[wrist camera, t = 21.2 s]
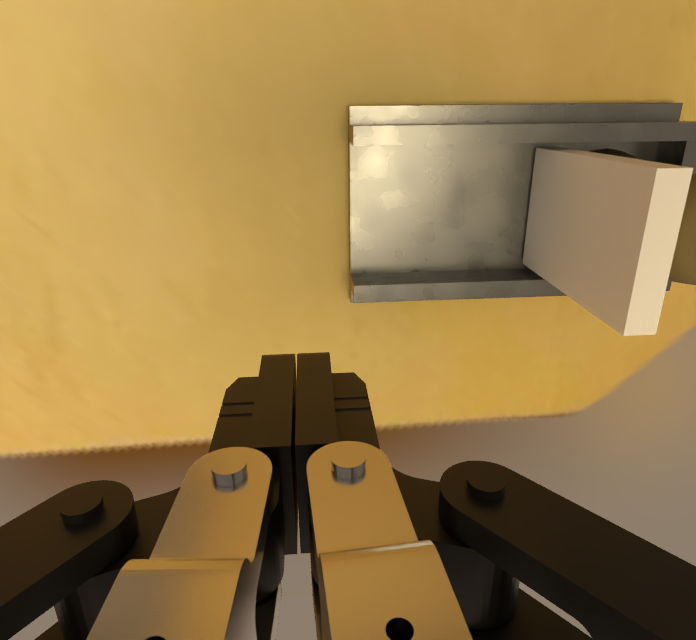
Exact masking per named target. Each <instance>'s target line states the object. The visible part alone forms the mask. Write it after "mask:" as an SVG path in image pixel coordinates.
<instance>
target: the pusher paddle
mask: <svg viewBox="0 0 696 640" xmlns="http://www.w3.org/2000/svg"><path fill="white" fill-rule="evenodd" d="M692 172H693V168H691V167H685V166H678V165H672V164H666V163H659V162H653V161H646V160H640V159H633V158H627V157H621V156H614V155H608V154H601V153H595V152H589V151H582V150H576V149H569V148H563V147H536V152H535V161H534V169H533V178H532V186H531V195H530V203H529V212H528V220H527V229H526V237H525V246H524V254H523V263H522V264H524V265H525V266H527V267H528V268H529V269H531V270H532V271H534V272H535V273H536V274H538V275H539V276H541V277H542V278H543V279H545V280H546V281H548V282H549V283H550V284H552V285H553V286H555V287H556V288H557V289H559V290H560V291H562V292H563V293H564V294H566V295H567V296H569V297H570V298H571V299H573V300H574V301H576V302H577V303H578V304H580V305H581V306H582V307H584V308H585V309H587V310H588V311H589V312H591V313H592V314H594V315H595V316H596V317H598V318H599V319H601V320H602V321H603V322H605V323H606V324H608V325H609V326H610V327H612V328H613V329H615V330H616V331H617V332H619V333H620V334H622V335H623V336H631V335H656V331H657V326H658V322H659V318H660V313H661V309H662V304H663V300H664V296H665V291H666V287H667V282H668V278H669V274H670V269H671V265H672V260H673V256H674V251H675V247H676V243H677V238H678V234H679V229H680V225H681V221H682V216H683V212H684V207H685V203H686V199H687V194H688V190H689V185H690V181H691V177H692Z"/></svg>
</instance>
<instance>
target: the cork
mask: <svg viewBox="0 0 696 640" xmlns="http://www.w3.org/2000/svg"><path fill="white" fill-rule="evenodd" d="M591 152H595V153H601V154H608V155H614V156H621V157H627V158H633V159H640V158H638V157H635V156H633V155H631V154H628V153H626V152H623V151H620V150H615V149H610V148H606V149H599V150H593V151H591ZM640 160H643V159H640ZM668 279H669V280H671V281H673V282H679V283H685V284H692V285H696V174H693V175H692V177H691V181H690V185H689V190H688V194H687V199H686V203H685V207H684V212H683V216H682V221H681V225H680V229H679V234H678V238H677V243H676V247H675V251H674V256H673V260H672V265H671V269H670V274H669V278H668Z"/></svg>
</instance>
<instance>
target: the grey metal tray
mask: <svg viewBox="0 0 696 640" xmlns="http://www.w3.org/2000/svg"><path fill="white" fill-rule="evenodd" d="M682 104H683V103H630V104H523V105H415V106H348V139H349V265H350V301H351V303H364V302H393V301H422V300H451V299H480V298H509V297H538V296H567V295H566V294H564V293H563V292H562V291H560V290H559V289H557V288H556V287H555V286H553V285H552V284H550V283H549V282H548V281H546V280H545V279H543V278H542V277H541V276H539V275H538V274H536V273H535V272H534V271H532V270H531V269H529V268H528V267H527V266H525V265H524V264H522V263H523V254H524V246H525V237H526V229H527V220H528V212H529V203H530V195H531V186H532V178H533V169H534V161H535V152H536V147H563V148H569V149H576V150H582V151H589V152H591V151H593V150H599V149H606V148H610V149H615V150H620V151H623V152H626V153H628V154H631V155H633V156H635V157H638V158H640V159H643V160H646V161H653V162H659V163H666V164H672V165H678V166H685V167H691V168H693V172H692V175H693V174H696V121H679V119H680V114H681V109H682ZM670 286H671V280H669V279H668V282H667V287H666V291H669V290H670Z"/></svg>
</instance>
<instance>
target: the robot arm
mask: <svg viewBox="0 0 696 640" xmlns="http://www.w3.org/2000/svg"><path fill="white" fill-rule="evenodd" d="M298 510H299V528H300V546H301V553H311V575H312V595H313V605H314V614H315V624H316V632H317V640H696V566H694V565H692V564H690V563H688V562H686V561H684V560H682V559H680V558H678V557H676V556H675V555H673V554H670V553H669V552H667V551H665V550H663V549H661V548H659V547H657V546H655V545H654V544H652V543H650V542H648V541H646V540H644V539H642V538H640V537H638V536H636V535H634V534H633V533H631V532H629V531H627V530H625V529H623V528H621V527H619V526H617V525H615V524H613V523H612V522H610V521H608V520H606V519H604V518H602V517H600V516H598V515H596V514H594V513H592V512H590V511H589V510H587V509H585V508H583V507H581V506H579V505H577V504H575V503H573V502H571V501H570V500H568V499H565V498H564V497H562V496H560V495H558V494H556V493H554V492H552V491H551V490H548V489H547V488H545V487H543V486H541V485H539V484H537V483H535V482H533V481H531V480H530V479H527V478H526V477H524V476H522V475H520V474H518V473H516V472H514V471H512V470H510V469H508V468H506V467H504V466H501V465H498V464H495V463H491V462H486V461H466V462H461V463H458V464H455V465H453V466H451V467H450V468H448V469H447V470H446V471H445V472H444V473H443V475H442V477H441V479H440V482H436V481H430V480H424V479H419V478H414V477H411V476H407V475H405V474H403V473H401V472H399V471H397V470H395V469H393V468H392V467H391V464H390V462H389V460H388V458H387V456H386V455H385V454H384V453H383V452H382V451H381V450H380V447H379V443H378V439H377V434H376V429H375V425H374V420H373V416H372V411H371V407H370V402H369V399H368V393H367V389H366V384H365V383H364V382H363V381H362V380H361V379H360V378H359V377H358V376H357V375H356V374H355V373H354V372H353V373H331V364H330V354H329V352H325V353H300V354H297V380H296V362H295V354H278V355H262V360H261V366H260V371H259V377H241V378H238V379H237V380H236V381H235V382H234V383H233V384H232V385H231V386H229V387H228V388H227V389H226V392H225V395H224V399H223V403H222V406H221V410H220V413H219V418H218V421H217V424H216V428H215V431H214V435H213V439H212V442H211V446H210V450H209V453H208V454H206V455H204V456H203V457H201V458H199V459H198V460H197V461H196V462H195V463H193V465H192V466H191V467H190V469H189V470H188V472H187V474H186V476H185V479H184V481H183V483H182V485H181V487H179V488H177V489H175V490H173V491H170V492H167V493H164V494H161V495H157V496H153V497H150V498H146V499H142V500H139V501H135V502H134V499H133V495H132V492H131V491H130V489H129V488H128V487H127V486H125V485H123V484H121V483H119V482H115V481H107V480H101V481H91V482H86V483H82V484H79V485H76V486H73V487H70V488H68V489H66V490H64V491H62V492H60V493H58V494H56V495H55V496H53V497H51V498H49V499H48V500H46V501H44V502H43V503H41V504H39V505H37V506H36V507H34V508H32V509H30V510H29V511H27V512H25V513H23V514H22V515H20V516H18V517H17V518H15V519H13V520H12V521H10V522H8V523H6V524H5V525H3V526H1V527H0V640H8V639H10V638H11V637H12V636H13V635H15V634H16V633H17V632H19V631H20V630H22V629H23V628H24V627H26V626H27V625H28V624H30V623H31V622H32V621H34V620H35V619H36V618H38V617H39V616H40V615H42V614H43V613H44V612H46V611H47V610H49V609H50V608H51V607H52V606H54V608H55V611H56V614H57V618H58V622H57V623H55V624H54V625H53V626H52V627H51V628H49V629H48V630H46V631H45V632H44V633H42V634H41V635H40V636H39V637H37V638H36V639H35V640H276V633H277V626H278V618H279V611H280V604H281V596H282V589H281V580H282V577H283V572H284V555H287V554H297V532H298V530H297V529H298V528H297V527H298ZM520 581H521V582H522V583H524V584H525V585H527V586H528V587H530V588H531V589H533V590H534V591H535V592H537V593H538V594H540V595H541V596H543V597H544V598H546V599H547V600H549V601H550V602H552V603H553V604H555V605H556V606H558V607H559V608H560V609H562V610H563V611H565V612H566V613H568V614H569V615H571V616H572V617H574V618H575V619H576V620H578V621H579V622H580V623H581V624H582V625H583V626H584V627H585V628H586V629H587V631H588V632H589V633H590V635H591V637H592V638H593V639H592V638H591V637H589V636H588V635H586V634H585V633H583V632H582V631H580V630H579V629H578V628H576V627H575V626H573V625H572V624H570V623H569V622H568V621H566V620H565V619H563V618H562V617H560V616H559V615H557V614H556V613H554V612H553V611H552V610H550V609H549V608H547V607H546V606H544V605H543V604H541V603H540V602H538V601H537V600H536V599H534V598H533V597H531V596H530V595H528V594H527V593H525V592H524V591H523V590H521V589H520V588H519V582H520Z"/></svg>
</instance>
